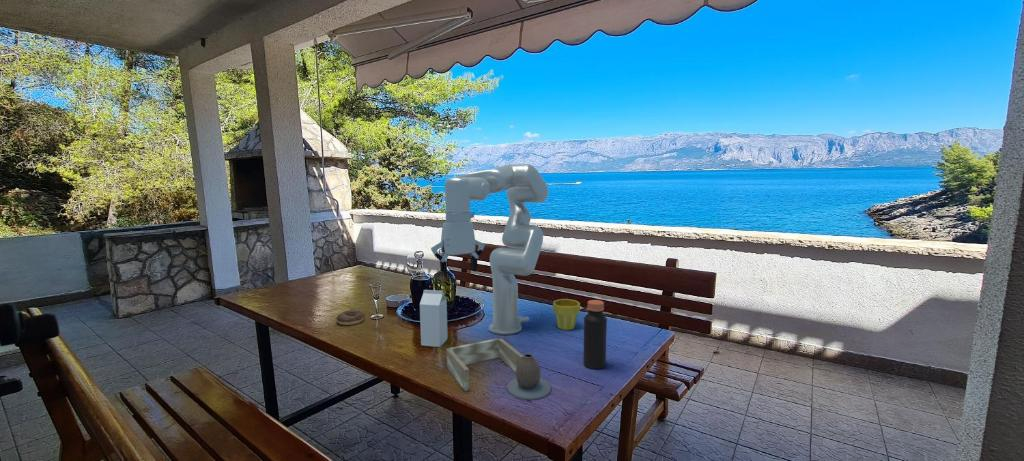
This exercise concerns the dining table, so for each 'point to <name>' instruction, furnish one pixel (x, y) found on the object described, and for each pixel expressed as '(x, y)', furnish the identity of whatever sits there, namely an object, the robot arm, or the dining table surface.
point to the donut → (350, 317)
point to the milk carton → (433, 318)
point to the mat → (529, 390)
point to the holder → (479, 357)
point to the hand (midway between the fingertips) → (459, 272)
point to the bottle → (595, 335)
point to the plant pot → (566, 313)
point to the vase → (528, 372)
